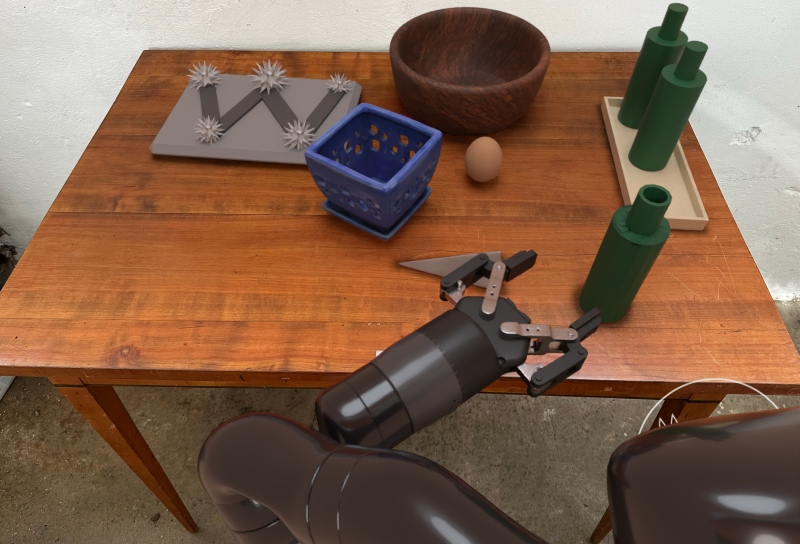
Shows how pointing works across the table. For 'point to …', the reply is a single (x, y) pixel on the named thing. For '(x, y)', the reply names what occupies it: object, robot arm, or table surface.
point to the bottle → (627, 253)
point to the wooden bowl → (468, 68)
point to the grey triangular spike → (450, 265)
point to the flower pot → (374, 168)
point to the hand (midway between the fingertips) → (564, 284)
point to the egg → (483, 159)
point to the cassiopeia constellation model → (253, 115)
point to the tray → (654, 173)
